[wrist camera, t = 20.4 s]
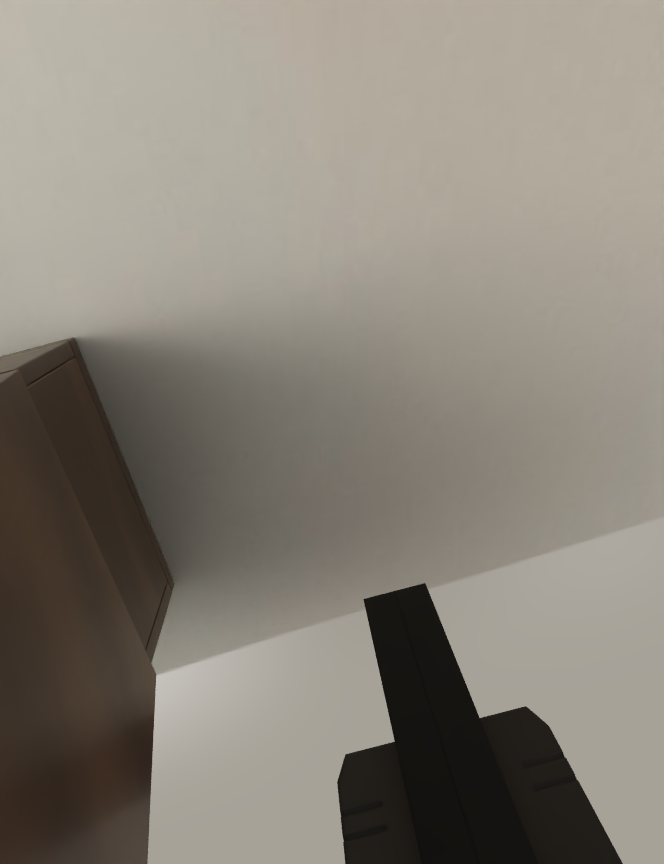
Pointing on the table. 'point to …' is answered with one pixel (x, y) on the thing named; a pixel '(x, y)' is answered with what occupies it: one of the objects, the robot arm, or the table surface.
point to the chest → (98, 479)
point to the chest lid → (64, 669)
